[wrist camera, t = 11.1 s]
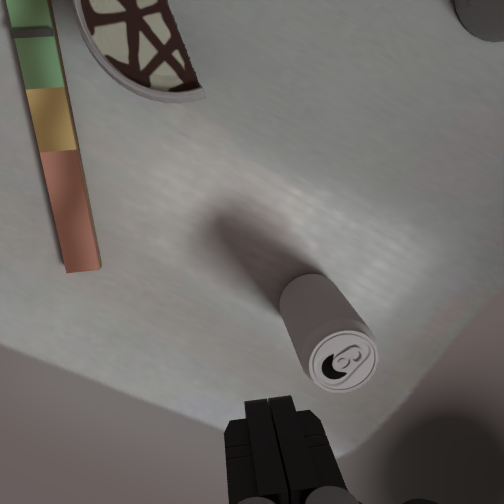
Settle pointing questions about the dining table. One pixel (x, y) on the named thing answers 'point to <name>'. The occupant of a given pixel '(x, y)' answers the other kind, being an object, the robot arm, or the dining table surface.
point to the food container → (139, 47)
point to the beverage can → (328, 334)
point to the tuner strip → (55, 131)
